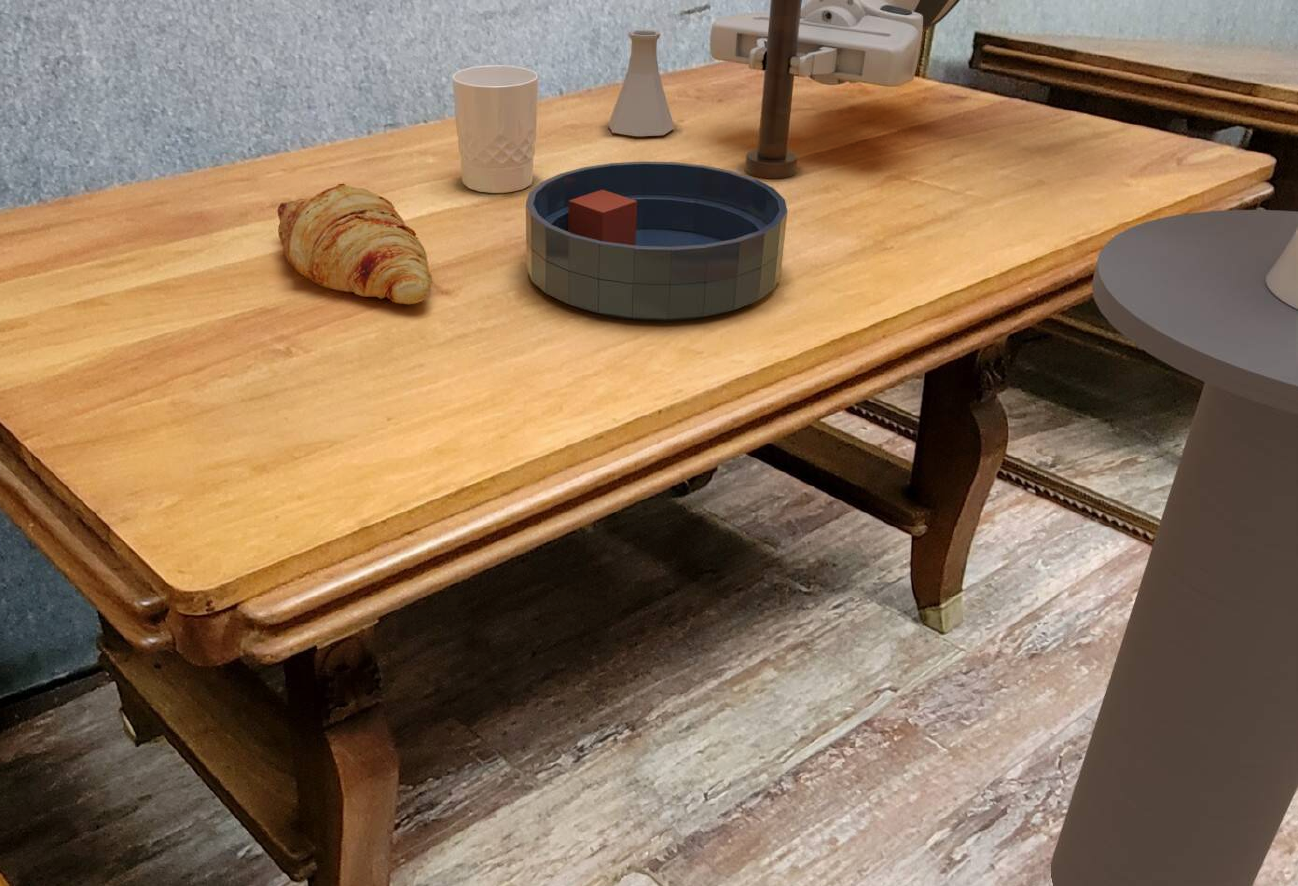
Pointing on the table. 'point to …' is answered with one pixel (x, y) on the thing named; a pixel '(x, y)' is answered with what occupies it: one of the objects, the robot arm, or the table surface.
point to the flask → (642, 91)
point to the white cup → (496, 126)
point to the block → (604, 217)
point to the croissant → (355, 245)
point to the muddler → (777, 95)
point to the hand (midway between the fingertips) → (776, 63)
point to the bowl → (660, 241)
